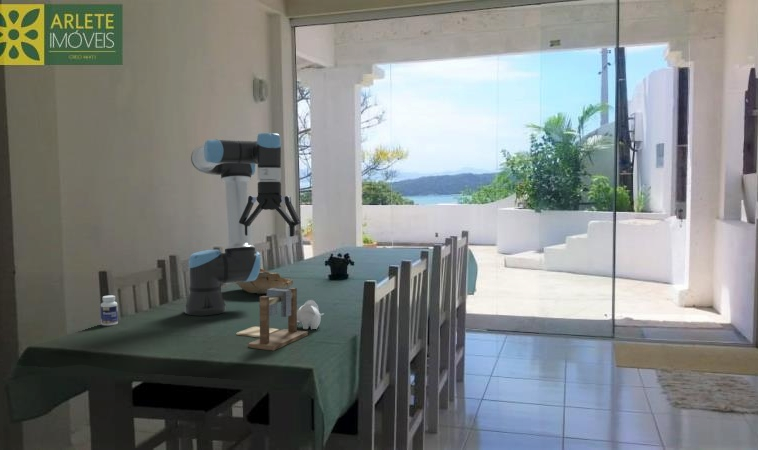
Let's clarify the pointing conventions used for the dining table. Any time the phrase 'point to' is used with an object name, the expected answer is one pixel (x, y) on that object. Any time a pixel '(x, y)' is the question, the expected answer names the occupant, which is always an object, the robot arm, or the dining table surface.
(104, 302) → the pill bottle
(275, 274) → the brown wooden chunk
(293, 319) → the stand
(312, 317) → the elephant figurine
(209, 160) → the robot arm
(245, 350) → the dining table surface
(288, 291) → the c link
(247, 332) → the cork coaster
